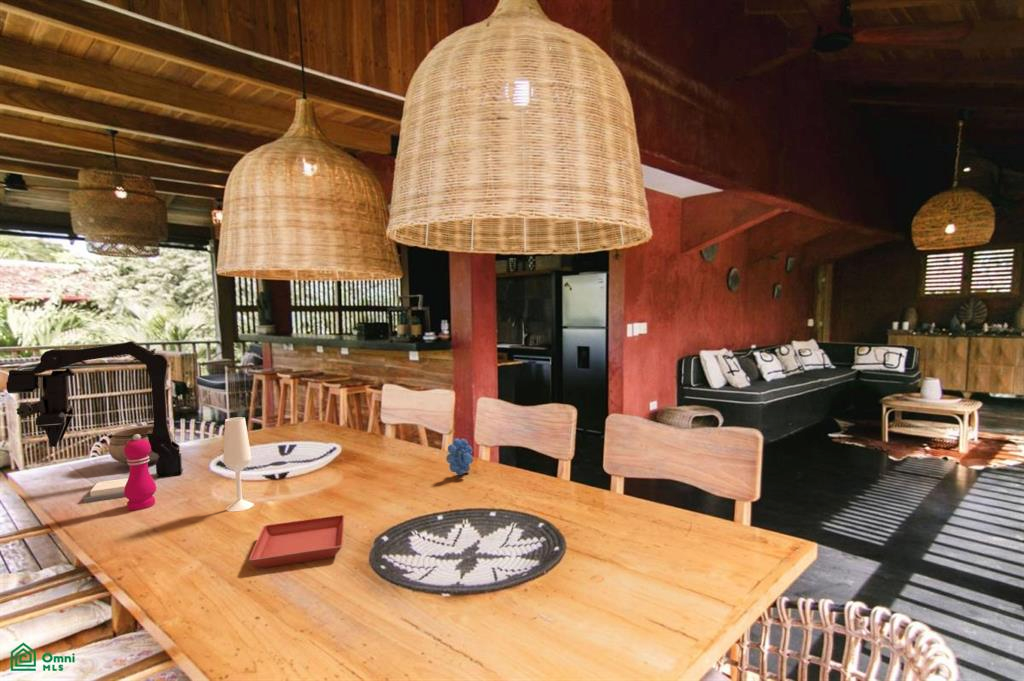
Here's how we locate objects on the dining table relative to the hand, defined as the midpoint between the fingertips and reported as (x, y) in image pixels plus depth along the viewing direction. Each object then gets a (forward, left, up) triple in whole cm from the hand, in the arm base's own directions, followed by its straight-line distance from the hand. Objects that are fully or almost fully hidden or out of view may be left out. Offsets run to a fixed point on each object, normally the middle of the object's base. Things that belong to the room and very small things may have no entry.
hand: (56, 443), depth 157 cm
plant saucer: (-60, +78, -15) cm, 99 cm away
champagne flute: (-48, +43, -15) cm, 66 cm away
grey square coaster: (-15, +11, -15) cm, 23 cm away
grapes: (-110, +50, -15) cm, 121 cm away
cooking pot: (-18, -22, -15) cm, 32 cm away
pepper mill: (-24, +28, -15) cm, 39 cm away
